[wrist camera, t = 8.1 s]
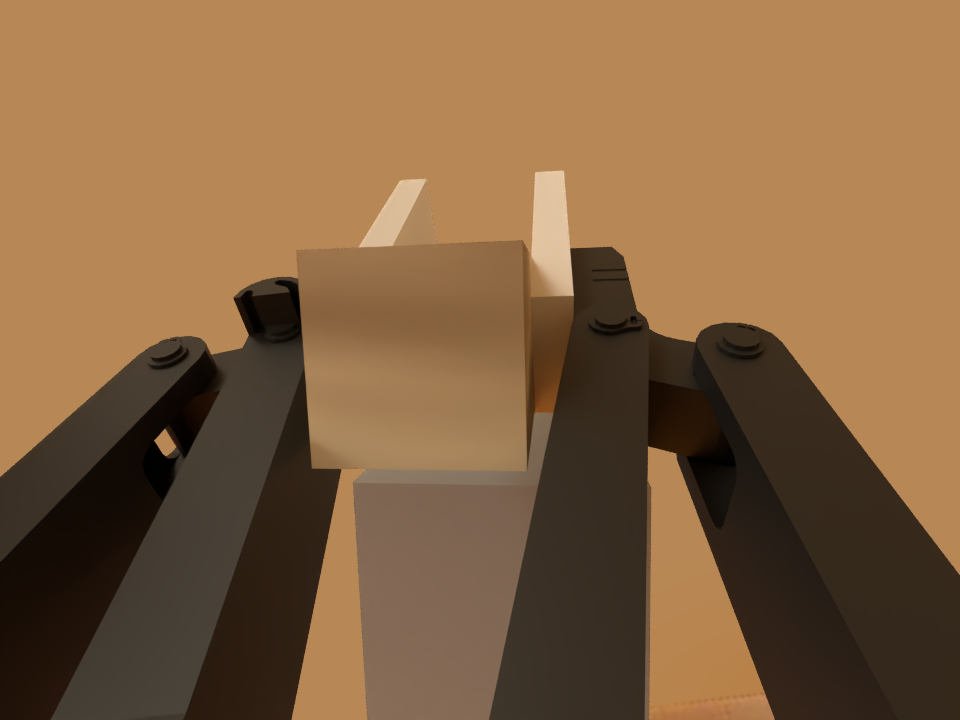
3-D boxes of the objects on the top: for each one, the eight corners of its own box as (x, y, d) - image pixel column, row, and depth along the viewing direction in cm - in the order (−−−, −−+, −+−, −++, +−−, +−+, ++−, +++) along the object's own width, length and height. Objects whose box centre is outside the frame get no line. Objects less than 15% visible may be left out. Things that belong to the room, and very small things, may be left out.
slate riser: (644, 1228, 21) (651, 487, 17) (395, 1180, 22) (352, 482, 19) (604, 827, 37) (603, 394, 33) (460, 812, 38) (443, 395, 34)
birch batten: (526, 471, 7) (522, 240, 7) (311, 468, 8) (296, 250, 7) (545, 330, 33) (544, 280, 32) (496, 331, 33) (494, 281, 33)
